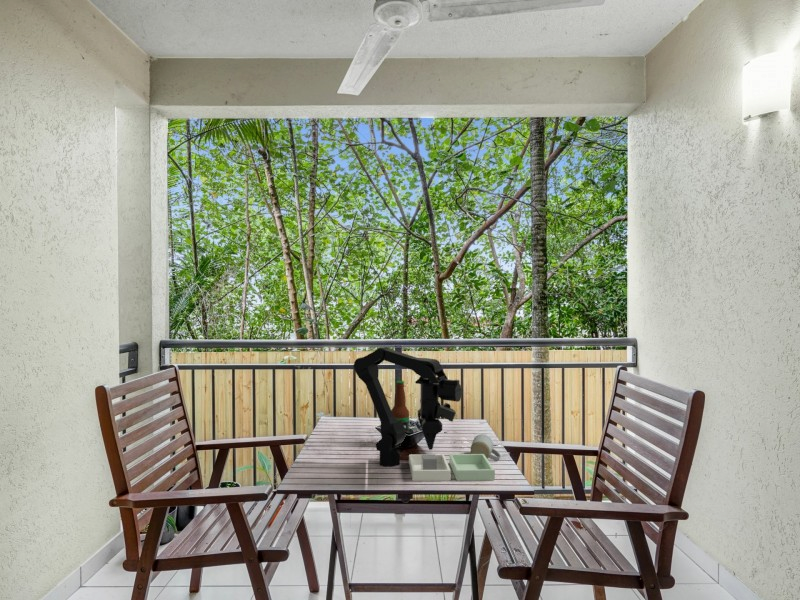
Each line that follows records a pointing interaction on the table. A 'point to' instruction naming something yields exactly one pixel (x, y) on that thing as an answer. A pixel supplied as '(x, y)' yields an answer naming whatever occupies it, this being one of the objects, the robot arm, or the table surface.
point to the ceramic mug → (484, 447)
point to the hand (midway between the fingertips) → (428, 445)
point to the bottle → (400, 405)
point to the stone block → (429, 462)
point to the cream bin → (429, 475)
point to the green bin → (471, 467)
